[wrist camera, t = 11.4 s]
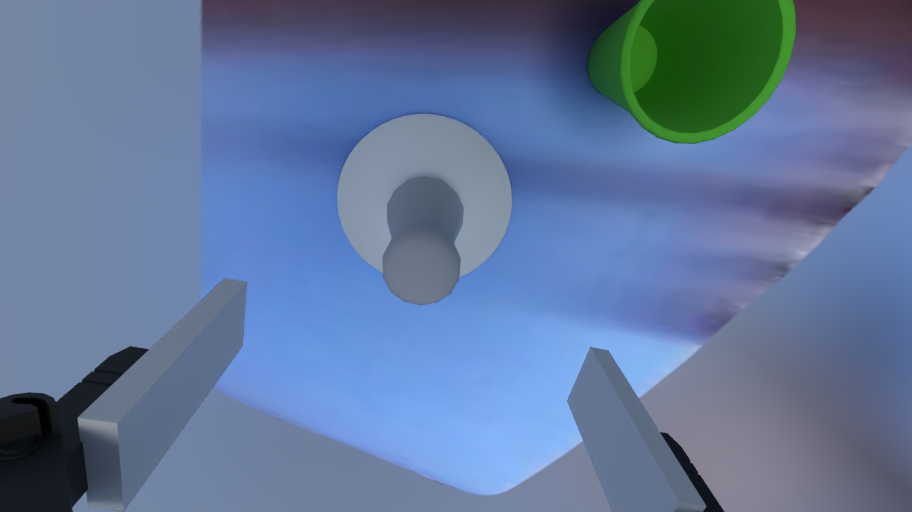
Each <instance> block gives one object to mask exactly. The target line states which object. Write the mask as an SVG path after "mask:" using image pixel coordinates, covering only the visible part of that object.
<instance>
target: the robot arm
mask: <svg viewBox="0 0 912 512" xmlns="http://www.w3.org/2000/svg"><path fill="white" fill-rule="evenodd" d="M246 289H247V282H243V281H238V280H233V279H227V278H224V279H223V280H222V281H221V282H220V283H219V284H218V285H217V286H215V287H214V288H213V289H212V290H211V291H210V292H209V293H208V294H207V295H206V296H205V297H204V298H203V299H202V300H201V301H200V302H199V303H198V304H197V305H196V306H194V307H193V309H191V310H190V311H189V312H188V313H187V314H186V315H185V316H184V317H183V318H182V319H181V320H180V321H179V322H178V323H177V324H176V325H175V326H173V327H172V329H170V330H169V331H168V332H167V333H166V334H165V335H164V336H163V337H162V338H161V339H160V340H159V341H158V342H157V343H156V344H154V345H153V346H152V347H151V349H144V348H137V347H131V346H130V347H128V348H126V349H124V350H122V351H120V352H118V353H115V354H113V355H111V356H109V357H108V358H107V359H106V360H105V361H104V362H102V363H101V364H100V365H99V366H98V367H97V368H95V370H94V372H91V373H90V374H88V375H87V376H86V377H85V378H84V379H83V380H82V382H81V383H78V384H77V385H76V386H74V388H72V389H71V390H70V391H69V392H67V393H66V394H65V395H64V396H63V397H62V398H60V399H59V400H58V401H57V402H56V401H55V400H54V398H53V397H50V396H48V395H46V394H43V393H30V392H29V393H22V394H14V395H10V396H7V397H4V398H0V512H73V511H72V507H73V506H74V505H75V504H76V502H77V501H78V500H79V499H80V498H81V496H82V495H83V494H84V493H85V492H87V501H88V508H95V509H104V510H113V511H121V512H124V511H125V510H126V508H127V507H128V505H129V504H130V503H131V501H132V500H133V498H134V497H135V496H136V494H137V493H138V491H139V490H140V488H141V487H142V486H143V484H144V483H145V481H146V480H147V478H148V477H149V476H150V475H151V473H152V472H153V470H154V469H155V468H156V466H157V465H158V463H159V462H160V461H161V459H162V458H163V457H164V455H165V454H166V452H167V451H168V449H169V448H170V447H171V445H172V444H173V443H174V441H175V440H176V438H177V437H178V436H179V434H180V433H181V431H182V430H183V429H184V427H185V426H186V424H187V423H188V422H189V420H190V419H191V418H192V416H193V415H194V413H195V412H196V410H197V409H198V408H199V406H200V405H201V403H202V402H203V401H204V399H205V398H206V397H207V395H208V394H209V392H210V391H211V390H212V388H213V387H214V385H215V384H216V383H217V381H218V380H219V378H220V377H221V376H222V374H223V373H224V372H225V370H226V369H227V367H228V366H229V365H230V363H231V362H232V360H233V359H234V358H235V356H236V355H237V353H238V352H239V351H240V349H241V348H242V346H243V335H244V320H245V305H246ZM567 402H568V404H569V407H570V409H571V412H572V414H573V417H574V419H575V422H576V424H577V427H578V429H579V432H580V434H581V437H582V439H583V441H584V444H585V446H586V449H587V451H588V454H589V456H590V459H591V461H592V464H593V466H594V469H595V471H596V474H597V476H598V478H599V481H600V483H601V486H602V488H603V491H604V493H605V496H606V498H607V501H608V503H609V506H610V508H611V511H612V512H724V511H723V509H722V508H721V506H720V505H719V503H718V502H717V500H716V498H715V497H714V496H713V494H712V493H711V491H710V490H709V488H708V486H707V485H706V484H705V482H704V480H703V479H702V478H701V476H700V475H698V471H697V470H696V468H695V467H694V465H693V464H692V463H690V459H689V458H688V456H687V455H686V453H685V452H684V450H683V449H682V447H681V446H680V445H679V444H678V443H677V442H676V441H675V440H673V438H672V437H671V436H669V435H668V434H667V433H662V432H659V430H658V428H657V427H656V425H655V424H654V422H653V421H652V419H651V417H650V416H649V414H648V413H647V411H646V410H645V408H644V406H643V405H642V403H641V402H640V400H639V398H638V397H637V395H636V394H635V392H634V390H633V389H632V387H631V386H630V384H629V382H628V381H627V379H626V378H625V376H624V375H623V373H622V371H621V370H620V368H619V367H618V365H617V363H616V362H615V360H614V359H613V357H612V356H611V354H610V352H609V351H608V350H603V349H598V348H592V347H590V349H589V352H588V354H587V356H586V359H585V361H584V363H583V365H582V368H581V370H580V372H579V375H578V377H577V379H576V382H575V384H574V386H573V388H572V391H571V393H570V395H569V398H568V400H567Z"/></svg>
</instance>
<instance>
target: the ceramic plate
mask: <svg viewBox="0 0 912 512" xmlns="http://www.w3.org/2000/svg"><path fill="white" fill-rule="evenodd" d="M423 176H428V177H432V178H436V179H440V180H443V181H445V182H446V183H447V184H448V185H449V186H450V187H451V188H452V189H453V190H455V191H456V192H457V194H458V196H459V198H460V201H461V203H462V205H463V207H464V213H463V225H462V227H461V229H460V231H459V234H458V236H457V238H456V240H455V243H454V244H455V247H456V249H457V251H458V253H459V255H460V258H461V264H460V276H459V277H462V276H464V275H466V274H468V273H470V272H471V271H473V270H474V269H476V268H477V267H479V266H480V265H481V264H483V263H484V262H485V261H486V260H487V259H488V258H489V257H490V256H491V255H492V253H493V252H494V251H495V250H496V249H497V247H498V245H499V244H500V242H501V241H502V239H503V237H504V235H505V233H506V230H507V227H508V224H509V221H510V216H511V211H512V191H511V185H510V180H509V176H508V173H507V171H506V168H505V166H504V164H503V162H502V160H501V158H500V156H499V155H498V153H497V152H496V151H495V149H494V148H493V147H492V145H491V144H490V143H489V142H488V141H487V140H486V139H485V138H484V137H483V136H482V135H481V134H479V133H478V132H477V131H476V130H475V129H473V128H471V127H470V126H468V125H466V124H465V123H463V122H461V121H458V120H456V119H454V118H451V117H447V116H443V115H438V114H431V113H416V114H409V115H404V116H400V117H397V118H394V119H391V120H389V121H387V122H385V123H383V124H381V125H380V126H378V127H376V128H375V129H373V130H372V131H371V132H370V133H368V134H367V135H366V136H365V137H364V138H363V139H362V140H361V141H360V142H359V143H358V144H357V145H356V146H355V147H354V149H353V150H352V152H351V153H350V155H349V156H348V158H347V160H346V162H345V164H344V166H343V169H342V172H341V175H340V178H339V183H338V189H337V205H338V213H339V217H340V221H341V225H342V227H343V230H344V232H345V234H346V236H347V238H348V240H349V242H350V243H351V245H352V246H353V247H354V249H355V250H356V252H357V253H358V254H359V255H360V256H361V257H362V258H363V259H364V260H365V261H366V262H367V263H369V264H370V265H371V266H372V267H374V268H375V269H377V270H378V271H380V272H382V273H383V264H382V257H383V254H384V252H385V250H386V248H387V247H388V245H389V243H390V241H391V239H392V238H391V235H390V231H389V227H388V224H387V204H388V202H389V200H390V198H391V196H392V194H393V192H394V190H395V189H397V188H398V187H399V186H401V185H402V184H403V183H404V182H406V181H407V180H408V179H412V178H418V177H423Z"/></svg>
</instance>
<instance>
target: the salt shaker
mask: <svg viewBox="0 0 912 512" xmlns="http://www.w3.org/2000/svg"><path fill="white" fill-rule="evenodd" d="M463 213H464V207H463V205H462V203H461V201H460V198H459V196H458V194H457V192H456V191H455V190H453V189H452V188H451V187H450V186H449V185H448V184H447V183H446V182H445V181H443V180H440V179H436V178H432V177H428V176H423V177H418V178H412V179H408V180H407V181H406V182H404V183H403V184H402V185H401V186H399V187H398V188H397V189H395V190H394V192H393V194H392V196H391V198H390V200H389V202H388V204H387V224H388V227H389V231H390V235H391V238H392V239H391V241H390V243H389V245H388V247H387V248H386V250H385V252H384V254H383V257H382V264H383V278H384V280H385V282H386V284H387V286H388V288H389V289H390V291H391V293H393V294H394V295H396V296H397V297H399V298H400V299H401V300H403V301H404V302H408V303H412V304H417V305H425V304H431V303H436V302H438V301H440V300H441V299H443V298H444V297H446V296H447V295H449V294H450V293H451V292H452V290H453V288H454V287H455V285H456V283H457V282H458V280H459V276H460V264H461V258H460V255H459V253H458V251H457V249H456V247H455V244H454V243H455V240H456V238H457V236H458V234H459V231H460V229H461V227H462V225H463Z"/></svg>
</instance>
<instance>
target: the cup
mask: <svg viewBox="0 0 912 512" xmlns="http://www.w3.org/2000/svg"><path fill="white" fill-rule="evenodd" d="M795 34H796V28H795V8H794V4H793V1H792V0H640V1H639V2H638V3H637V4H636V5H635V6H634V7H633V8H631V9H630V10H629V11H628V12H626V13H625V14H624V15H623V16H621V17H620V18H619V19H618V20H616V21H615V22H614V23H613V24H611V25H610V26H609V27H608V28H607V29H605V30H604V31H603V32H602V33H601V34H600V35H599V36H598V38H597V39H596V40H595V42H594V44H593V46H592V48H591V50H590V54H589V58H588V73H589V78H590V80H591V82H592V84H593V86H594V87H595V89H596V90H597V91H598V92H599V93H601V94H602V95H604V96H605V97H607V98H608V99H610V100H611V101H613V102H615V103H616V104H618V105H619V106H621V107H622V108H624V109H626V110H627V111H629V112H630V113H631V115H632V116H633V117H634V118H635V119H636V121H637V122H638V123H639V124H640V125H641V127H642V128H644V129H645V130H647V131H648V132H650V133H651V134H653V135H654V136H656V137H657V138H660V139H663V140H667V141H670V142H673V143H690V144H695V143H699V142H704V141H708V140H713V139H715V138H718V137H720V136H722V135H724V134H726V133H728V132H730V131H733V130H734V129H736V128H737V127H739V126H740V125H741V124H743V123H744V122H745V121H747V120H748V119H749V118H751V117H752V116H753V115H754V114H755V113H756V112H757V111H758V110H759V109H760V108H761V107H762V106H763V105H764V104H765V103H766V102H767V100H768V99H769V98H770V97H771V95H772V93H773V92H774V90H775V89H776V87H777V86H778V84H779V83H780V81H781V79H782V77H783V75H784V73H785V70H786V68H787V65H788V63H789V60H790V58H791V54H792V49H793V44H794V39H795Z"/></svg>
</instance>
